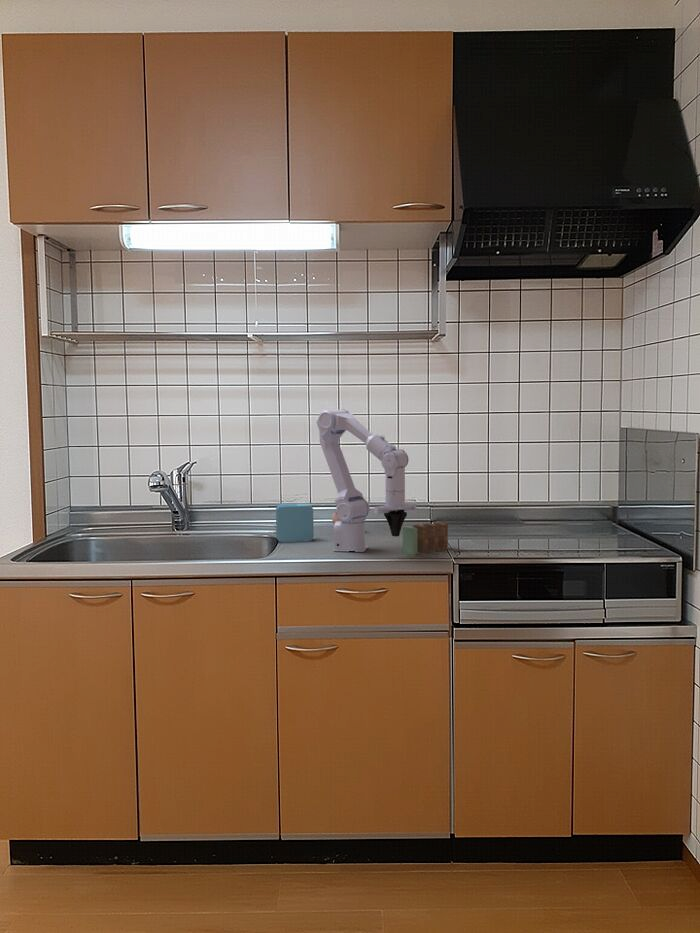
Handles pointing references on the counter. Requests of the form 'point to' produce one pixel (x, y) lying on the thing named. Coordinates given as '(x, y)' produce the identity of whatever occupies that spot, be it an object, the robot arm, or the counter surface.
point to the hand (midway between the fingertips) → (395, 535)
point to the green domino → (410, 540)
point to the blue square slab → (294, 522)
